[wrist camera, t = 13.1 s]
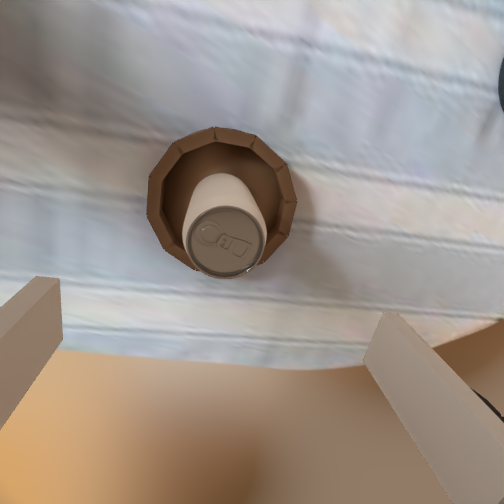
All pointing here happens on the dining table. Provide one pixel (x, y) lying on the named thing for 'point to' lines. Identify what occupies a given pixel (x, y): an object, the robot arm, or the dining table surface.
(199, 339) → the dining table surface
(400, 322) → the robot arm
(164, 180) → the round tray
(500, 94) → the canister
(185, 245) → the can
